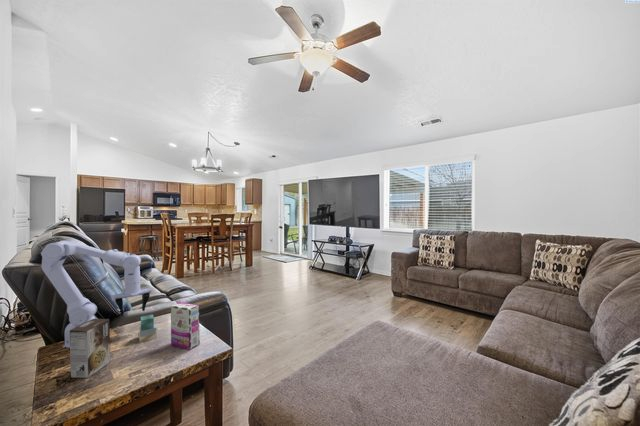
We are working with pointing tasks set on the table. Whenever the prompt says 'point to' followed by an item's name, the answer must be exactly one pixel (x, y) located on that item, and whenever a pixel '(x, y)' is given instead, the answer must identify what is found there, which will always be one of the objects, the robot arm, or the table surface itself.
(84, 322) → the robot arm
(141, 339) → the base block
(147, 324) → the cube
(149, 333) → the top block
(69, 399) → the table surface
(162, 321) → the table surface
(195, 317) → the candy bar box
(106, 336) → the coffee box
